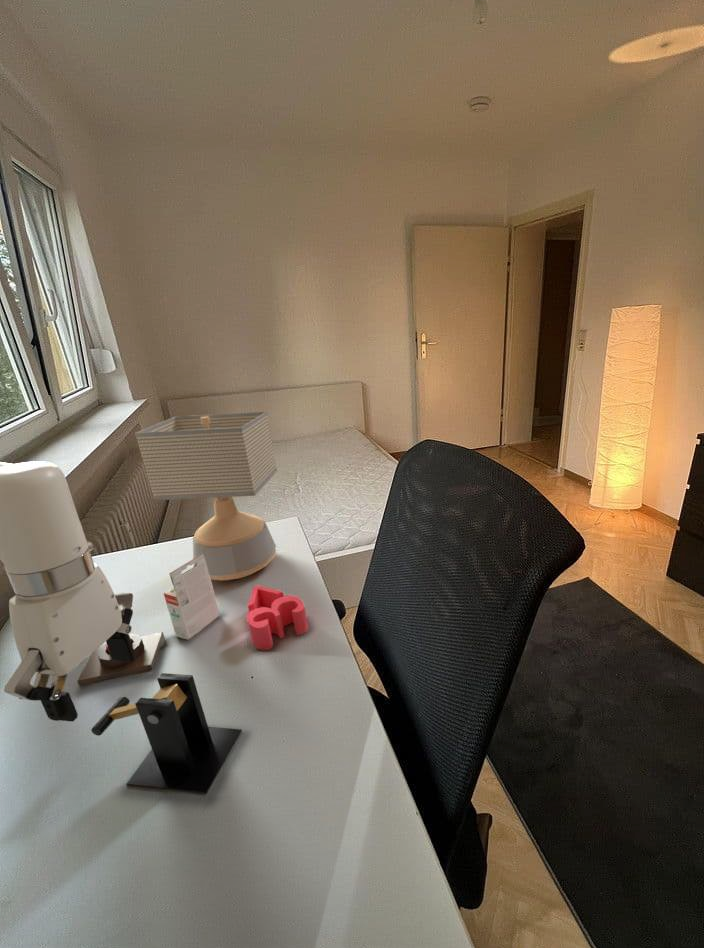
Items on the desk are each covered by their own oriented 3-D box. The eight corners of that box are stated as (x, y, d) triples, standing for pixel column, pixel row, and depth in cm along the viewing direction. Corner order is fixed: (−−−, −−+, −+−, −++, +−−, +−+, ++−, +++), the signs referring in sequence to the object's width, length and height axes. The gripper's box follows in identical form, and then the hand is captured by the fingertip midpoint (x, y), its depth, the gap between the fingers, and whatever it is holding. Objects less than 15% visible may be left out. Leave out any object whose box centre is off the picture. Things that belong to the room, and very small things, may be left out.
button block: (81, 691, 73) (73, 672, 71) (100, 654, 81) (93, 637, 79) (154, 674, 75) (148, 656, 74) (165, 640, 83) (160, 623, 82)
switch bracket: (129, 790, 56) (97, 715, 52) (172, 729, 65) (149, 660, 60) (208, 799, 55) (183, 723, 50) (243, 735, 63) (224, 664, 58)
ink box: (175, 636, 84) (154, 570, 79) (207, 612, 91) (191, 549, 86) (188, 641, 83) (169, 574, 77) (221, 616, 89) (205, 552, 84)
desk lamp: (292, 545, 116) (268, 406, 103) (270, 586, 99) (237, 424, 85) (211, 548, 117) (177, 411, 104) (175, 589, 100) (128, 430, 86)
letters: (235, 615, 89) (230, 594, 87) (283, 596, 95) (280, 576, 93) (258, 653, 78) (253, 630, 77) (311, 629, 84) (307, 607, 82)
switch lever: (98, 739, 57) (86, 726, 56) (126, 707, 61) (115, 694, 60) (169, 721, 53) (158, 706, 53) (193, 689, 58) (183, 675, 57)
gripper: (85, 535, 59) (120, 639, 65) (-58, 616, 43) (6, 744, 49) (136, 537, 58) (166, 642, 64) (8, 621, 42) (65, 751, 48)
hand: (97, 686), depth 56 cm, fingers open, 9 cm apart
